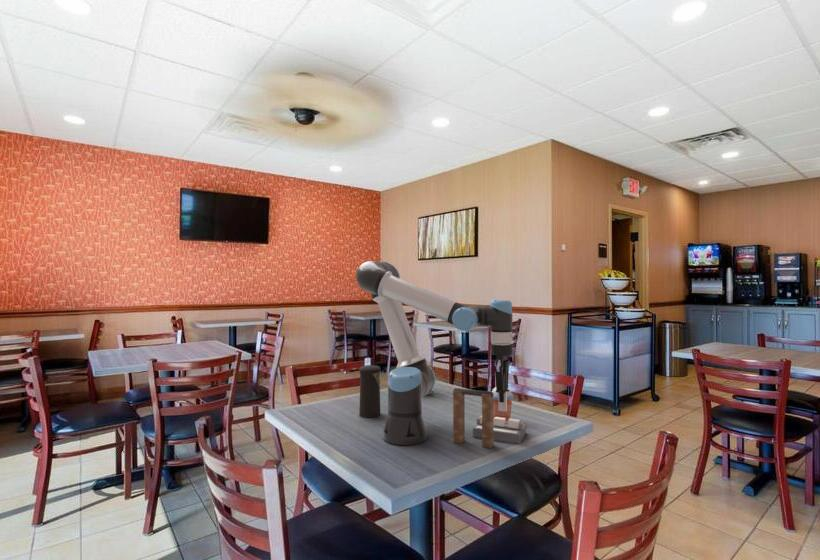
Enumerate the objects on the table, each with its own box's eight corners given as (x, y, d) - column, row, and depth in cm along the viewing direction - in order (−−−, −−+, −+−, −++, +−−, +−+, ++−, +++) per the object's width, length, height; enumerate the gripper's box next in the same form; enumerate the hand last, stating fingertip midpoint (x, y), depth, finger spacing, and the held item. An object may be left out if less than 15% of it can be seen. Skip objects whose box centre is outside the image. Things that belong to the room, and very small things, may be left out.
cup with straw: (496, 426, 162) (496, 378, 162) (485, 419, 170) (485, 373, 171) (518, 424, 164) (517, 376, 164) (506, 417, 173) (506, 372, 173)
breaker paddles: (480, 423, 154) (480, 416, 154) (481, 421, 157) (481, 414, 157) (518, 428, 149) (518, 421, 149) (519, 426, 151) (519, 419, 151)
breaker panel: (472, 436, 151) (472, 422, 151) (482, 426, 161) (482, 413, 161) (519, 443, 144) (519, 428, 144) (526, 432, 154) (526, 418, 154)
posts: (453, 442, 146) (452, 390, 146) (456, 438, 149) (456, 388, 149) (490, 448, 140) (490, 394, 140) (493, 444, 143) (493, 392, 143)
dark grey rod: (452, 393, 147) (452, 388, 147) (454, 392, 148) (454, 387, 148) (492, 398, 141) (492, 392, 141) (494, 396, 142) (494, 391, 142)
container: (383, 416, 174) (383, 366, 175) (361, 419, 171) (361, 368, 171) (377, 410, 182) (377, 363, 183) (356, 413, 179) (356, 364, 179)
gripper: (508, 346, 145) (509, 417, 145) (516, 341, 157) (517, 407, 156) (486, 345, 148) (487, 414, 148) (495, 341, 160) (496, 404, 160)
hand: (502, 410), depth 152 cm, fingers closed
